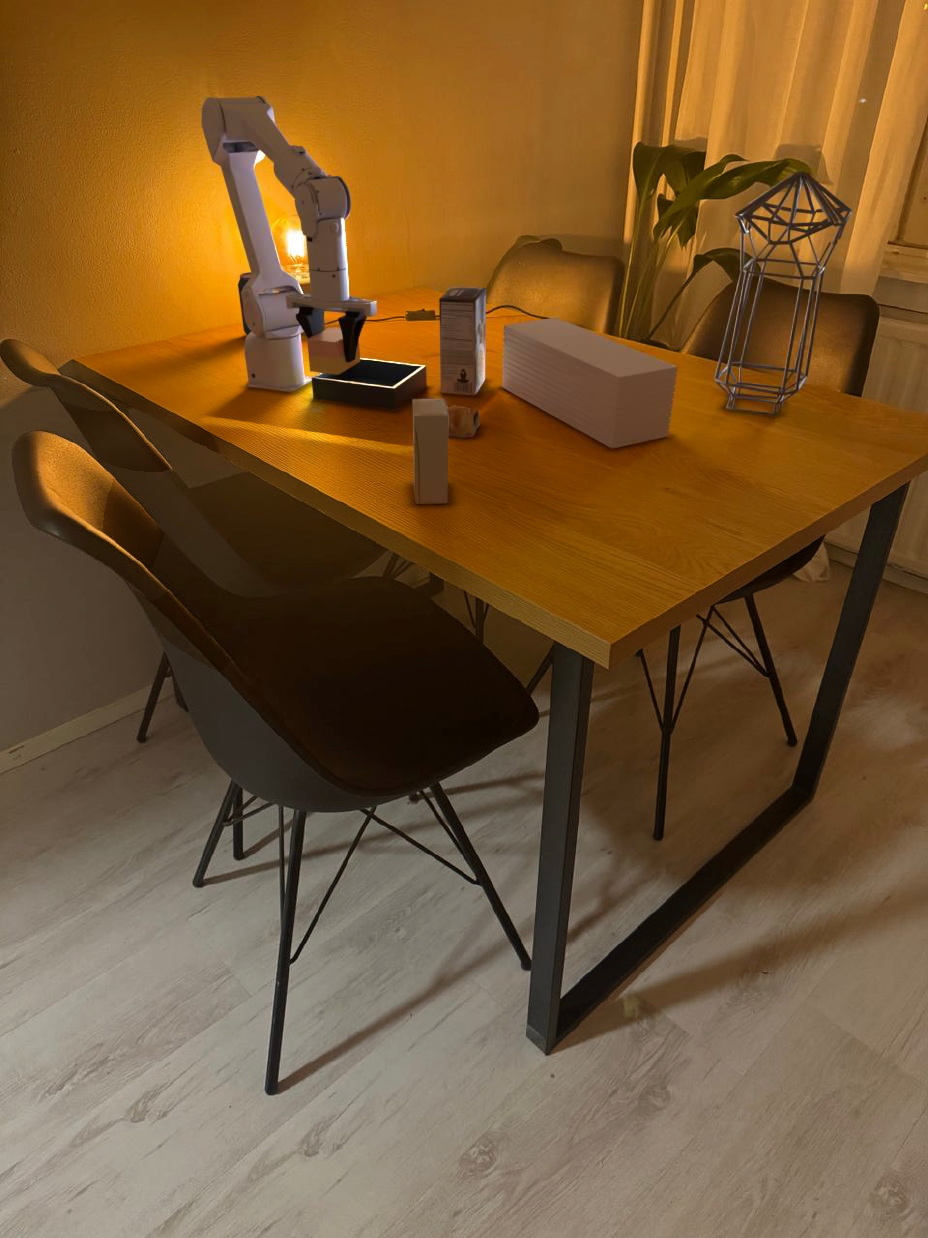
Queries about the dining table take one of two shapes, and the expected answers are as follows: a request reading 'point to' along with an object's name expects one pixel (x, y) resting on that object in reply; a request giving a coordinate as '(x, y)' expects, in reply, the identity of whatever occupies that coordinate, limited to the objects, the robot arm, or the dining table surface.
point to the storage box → (372, 384)
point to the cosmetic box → (430, 450)
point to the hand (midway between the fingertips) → (335, 358)
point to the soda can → (242, 282)
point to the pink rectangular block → (329, 352)
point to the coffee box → (462, 340)
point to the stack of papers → (589, 381)
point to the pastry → (463, 421)
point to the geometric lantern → (748, 216)
